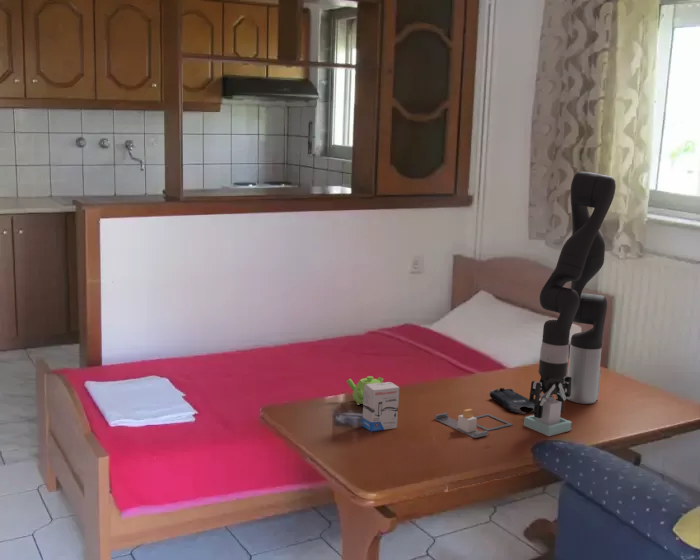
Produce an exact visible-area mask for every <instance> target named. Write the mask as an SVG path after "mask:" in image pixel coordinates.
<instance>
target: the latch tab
mask: <svg viewBox="0 0 700 560" xmlns="http://www.w3.org/2000/svg"><path fill="white" fill-rule="evenodd" d="M462 411H463V412H462V414H460V415H458V418H457V421H458V428H459V429H461V430H463V431H466V432H472V431H476V430H477V426H476V424H478V423H477V422H478V421H477V420H478V418H475V417H476V416H474V415H473V414H474V413H473V412H474V410H473V409H472V408H467V409H463V410H462Z"/></svg>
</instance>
